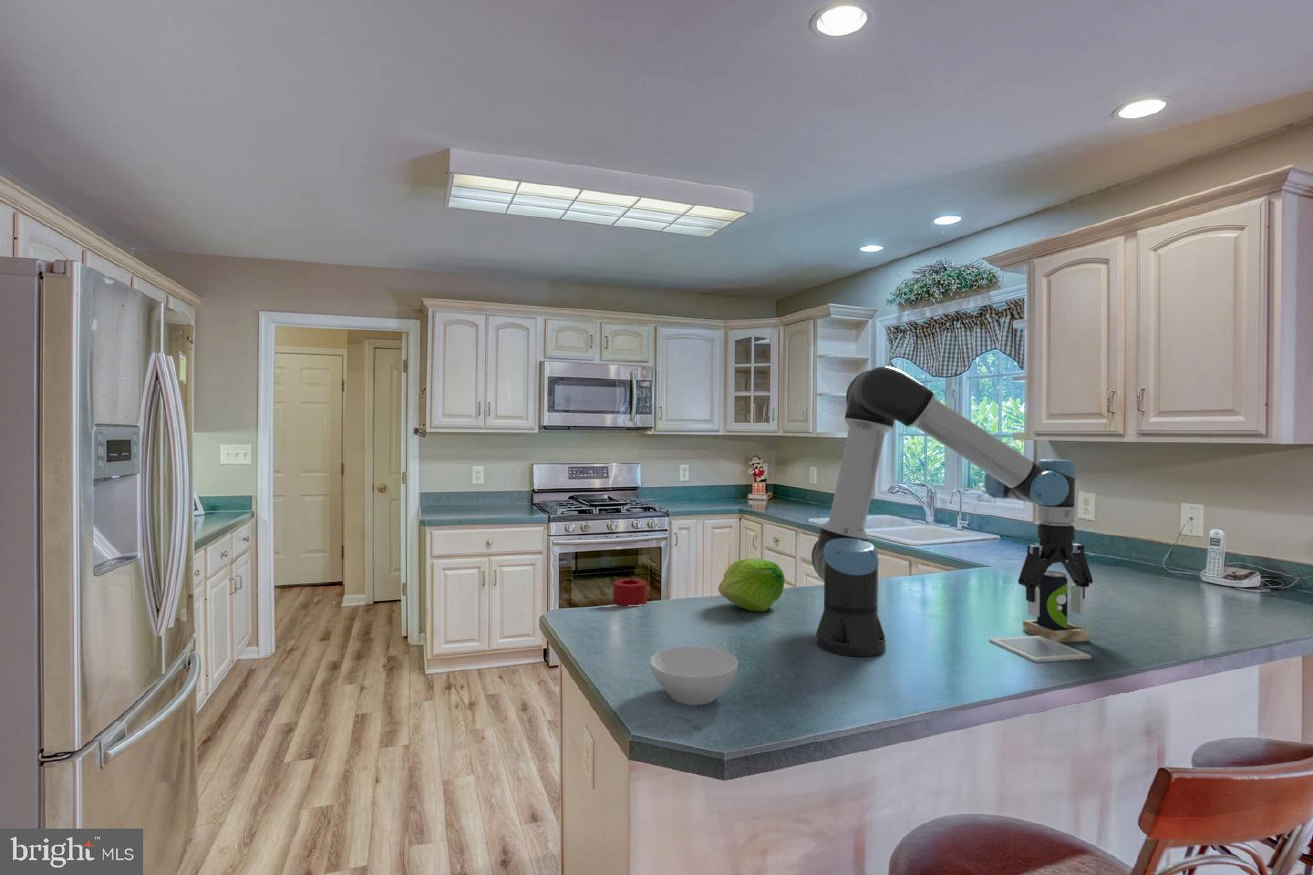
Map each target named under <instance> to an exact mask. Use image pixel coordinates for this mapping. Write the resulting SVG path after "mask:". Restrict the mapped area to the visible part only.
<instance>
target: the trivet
mask: <svg viewBox="0 0 1313 875" xmlns="http://www.w3.org/2000/svg"><path fill="white" fill-rule="evenodd" d="M989 641H990V643H991V642H992V644H993V643H994V645H996V646H997V647H1000V648H1002V647H1003V648H1002V649H1004V648H1005V649H1004V650H1006V651H1009V652H1012V653H1013V652H1015V653H1017V654H1016V655H1018V654H1019V655H1018V656H1020V655H1021V656H1020V657H1022V656H1023V657H1022V658H1024V657H1025V658H1024V659H1026V658H1027V660H1028V659H1029V660H1028V661H1030V662H1033V663H1044V662H1045V663H1046V662H1058V661H1059V662H1061V661H1071V660H1074V661H1075V660H1086V659H1087V660H1088V659H1089V660H1090V659H1092V655H1091V654H1088V653H1085V652H1083V651H1081V650H1078V649H1076V648H1073V647H1071V646H1068V645H1065V644H1064V643H1058V642H1056V641H1053V640H1051V639H1048V638H1046V637H1043V636H1041V635H1040V636H1035V635H1027V636H1026V635H1025V636H1013V637H1012V636H1010V637H997V638H995V637H993V638H988V642H989ZM1015 653H1014V654H1015Z"/></svg>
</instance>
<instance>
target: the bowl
mask: <svg viewBox="0 0 1313 875" xmlns="http://www.w3.org/2000/svg"><path fill="white" fill-rule="evenodd" d="M649 664H650V665H649V666H650V670H651V673H652V675H653V676H654V678H655V680H656V681H657V683H658V684H659V685H660V686H661V687H662V688H663V690H664V691H665V692H666V693H667V694H668V695H669V696H670V697H671V699H673V701H675V702H678V703H680V704H685V705H690V706H693V705H695V706H699V705H706V704H709V703H711V702H714V701H715V700H716V699H717V698H718V697H719V695H720V694H722V692H724V691H725V689H727V687H728V686H729V685H731V683H732V681H733V680H734V678H735V676H736V673H737V671H738V668H739V667H738V666H739V663H738V659H737V658H736V657H735V655H732V654H731V653H729V652H727V651H724V650H722V649H718V648H713V647H708V646H701V645H700V646H697V645H695V646H694V645H684V646H675V647H669V648H665V649H661V650H659V651H657V652H655V653H654V654H653V655H652V656H651V657H650V659H649Z"/></svg>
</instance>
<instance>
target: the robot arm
mask: <svg viewBox="0 0 1313 875" xmlns="http://www.w3.org/2000/svg"><path fill="white" fill-rule="evenodd" d="M935 394H936V393H935V392H934V391H933V390H932V389H930V388H928V387H927V386H925V385H924V384H922V383H921V382H919V381H918V380H917V379H916V378H914V377H912V376H910V375H909V374H907V373H906V372H904V371H902V370H900V369H898V368H896V367H893V366H889V365H888V366H886V365H885V366H879V367H878V366H877V367H875V368H872V369H871V370H866V371H863V372H861V373H860V374H857V376H854V378H853V379H852V381H851V382H850V384H849V385H848V387H847V389H846V395H845V396H846V397H845V399H846V404H847V406H846V411H845V415H844V421H845V423H846V425H847V426H848V432H847V437H846V440H845V443H844V450H843V454H842V459H841V463H840V469H839V472H838V477H837V480H836V481H837V482H836V487H835V491H834V496H833V501H832V505H831V509H830V513H829V519H828V521H827V522H825V523H824V524H821V525H820V530H819V535H818V539H817V541H816V542H815V543H814V545H813V548H812V550H811V563H812V567H813V569H814V572H815V573H816V574H817V575H818V577H819V578H821V580H823V586H824V587H823V611H822V615H821V617H820V620H819V623H818V627H817V629H816V633H815V643H816V645H817V646H818V648H820V649H822V650H823V651H826V652H829V653H833V654H837V655H840V656H841V655H842V656H847V657H873V656H878V655H881V654H883V653H885V652H886V646H887V645H886V644H887V642H886V641H887V640H886V637H885V633H884V630H883V627H882V623H881V621H880V617H879V615H878V598H879V597H878V596H879V591H878V588H879V587H878V586H879V583H878V582H879V581H878V580H879V561H880V559H879V555H878V550H877V548H876V546H875V545H874V544H873V543H871V542H869V538H870V537H869V535H868V534H867V532H866V531H865V527H866V521H867V517H868V512H869V507H870V503H871V499H872V494H873V489H874V486H875V481H876V478H877V477H876V475H877V472H878V469H879V468H878V467H879V463H880V458H881V453H882V450H883V444H884V440H885V436H886V434H887V433H889V432H890V431H892V430H893V429H894V425H895V421H896V422H899V423H901V424H902V425H903V426H905V427H906V428H911V427H915V428H916V429H919V430H920V431H921V432H923V433H925V435H927V436H929V437H931V438H933V440H935V441H937V442H939V443H940V445H943V446H945V447H946V448H947V449H949V450H951V451H953V452H954V453H955V454H957V455H959V457H961V458H963V459H965V460H966V461H967V462H969V463H971V464H972V465H974V466H976V467H977V468H979V469H980V470H981V471H983V472H985V476H984V489H985V492H986V493H987V495H988V496H989V497H991V498H993V499H1001V500H1004V499H1011V500H1016V501H1017V500H1018V501H1021V502H1022V501H1023V502H1028V503H1031V504H1036V505H1037V521H1038V522H1040V523H1038V524H1037V537H1038V539H1039V544H1038V545H1033V544H1028V545H1027V551H1026V553H1027V554H1026V557H1025V560H1024V563H1023V566H1022V568H1021V572H1020V574H1019V577H1018V580H1017V583H1018V585H1021V586H1023V587H1025V599H1026V601H1027V614H1028V615H1031V616H1034V617H1036V618H1037V617H1039V601H1040V589H1037V586H1038V584H1039V582H1040V581H1041V579H1042V577H1043V575H1044V574H1045V572H1046V571H1048V569H1049V567H1051V566H1052V565H1053V564H1057V563H1061V564H1062V565H1063V567H1064V568H1065V570H1066V572H1067V573H1068V576H1069V577H1070V578H1071V580H1072V581H1073V583H1074V584H1071V585H1070V592H1071V593H1070V612H1072V613H1075V614H1079V615H1083V614H1084V600H1085V599H1086V598H1085V597H1086V593H1085V592H1086V588H1089V587H1090V585H1091V584H1093V582H1094V580H1093V577H1092V573H1091V570H1090V567H1089V564H1088V561H1087V558H1086V554H1085V546H1084V544H1079V543H1077V542H1076V543H1075V542H1074V541H1075V538H1076V537H1075V532H1076V530H1075V526H1074V525H1073V524H1074V523H1075V515H1076V514H1075V512H1076V511H1075V508H1076V507H1075V495H1076V492H1075V491H1076V490H1075V489H1076V469H1075V464H1074V462H1073V461H1072V460H1070V459H1047V458H1046V459H1043V458H1042V459H1039V460H1038V464H1037V463H1036V462H1034V461H1033V460H1031V459H1029V458H1028V457H1026V456H1024V454H1022V453H1020V452H1019V451H1018V450H1015V449H1014V448H1012V447H1011V446H1009V445H1008V444H1006V443H1004V441H1002V440H1000V439H999V438H997V437H996V436H994V435H992V434H991V433H989V432H988V431H987V430H984V429H983V428H982V427H980V426H978V425H977V424H976V423H974V422H972V421H971V420H969V419H967V417H965V416H963V415H961V414H960V413H958V412H957V411H956V410H953V409H952V408H951V407H949V406H948V405H946V404H944V403H943V402H941V401H940V400H939V399H937V398H936V395H935Z"/></svg>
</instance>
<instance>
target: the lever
mask: <svg viewBox="0 0 1313 875" xmlns="http://www.w3.org/2000/svg"><path fill="white" fill-rule="evenodd" d="M612 582H613V585H612V586H613V588H612V589H613V593H612V594H613V595H612V597H613V598H612V602H613V604H614V605H615V606H618V607H622V606H628V605H639V604H645V605H646V604H647V602H648V601H647V600H648V599H647V598H648V582H647V581H646V580H645V579H641V578H621V579H617V580H614V581H612ZM642 606H644V605H641V606H640V607H642ZM635 607H639V606H631V607H630V608H635Z"/></svg>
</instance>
